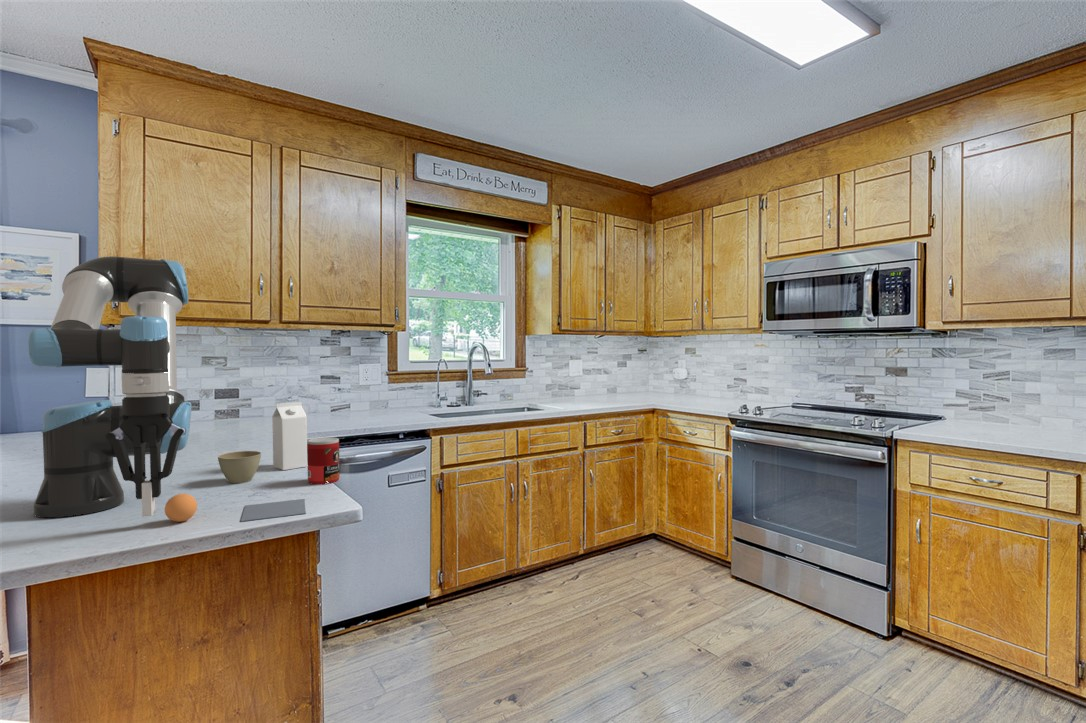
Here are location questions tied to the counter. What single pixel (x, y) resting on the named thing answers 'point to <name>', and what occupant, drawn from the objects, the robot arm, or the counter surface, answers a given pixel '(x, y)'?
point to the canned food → (323, 460)
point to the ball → (180, 507)
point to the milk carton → (289, 436)
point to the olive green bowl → (239, 465)
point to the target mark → (273, 510)
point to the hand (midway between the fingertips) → (148, 514)
